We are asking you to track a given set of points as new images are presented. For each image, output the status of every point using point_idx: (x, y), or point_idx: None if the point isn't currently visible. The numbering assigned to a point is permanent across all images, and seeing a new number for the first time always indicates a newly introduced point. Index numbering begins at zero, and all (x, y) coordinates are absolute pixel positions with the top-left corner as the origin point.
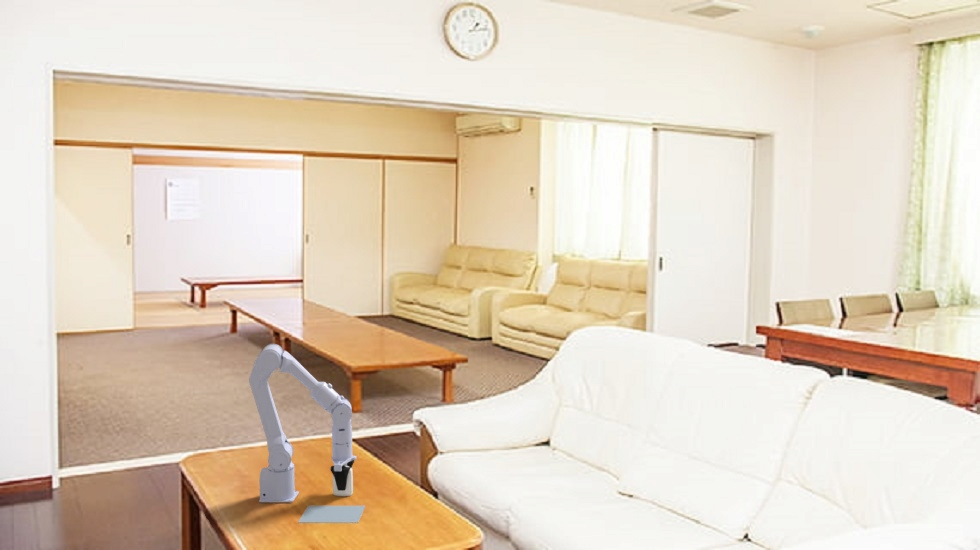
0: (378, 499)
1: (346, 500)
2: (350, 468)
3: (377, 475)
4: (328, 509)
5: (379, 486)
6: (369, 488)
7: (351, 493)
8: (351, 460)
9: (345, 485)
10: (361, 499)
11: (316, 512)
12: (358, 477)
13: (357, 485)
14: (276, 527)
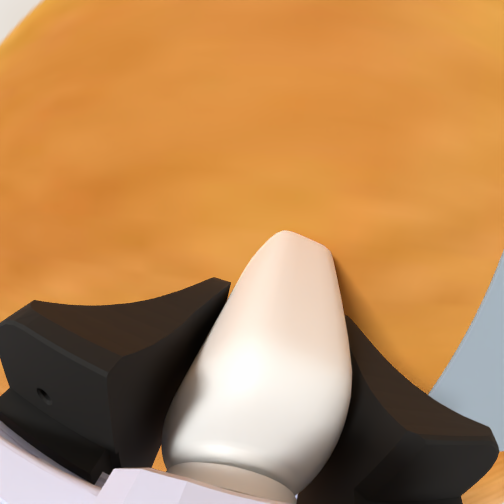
0: (445, 67)
1: (403, 287)
2: (294, 392)
3: (18, 78)
4: (480, 380)
5: (174, 31)
6: (196, 95)
7: (326, 248)
8: (50, 379)
9: (362, 336)
10: (421, 181)
11: (478, 419)
12: (21, 177)
13: (121, 182)
14: (492, 481)
